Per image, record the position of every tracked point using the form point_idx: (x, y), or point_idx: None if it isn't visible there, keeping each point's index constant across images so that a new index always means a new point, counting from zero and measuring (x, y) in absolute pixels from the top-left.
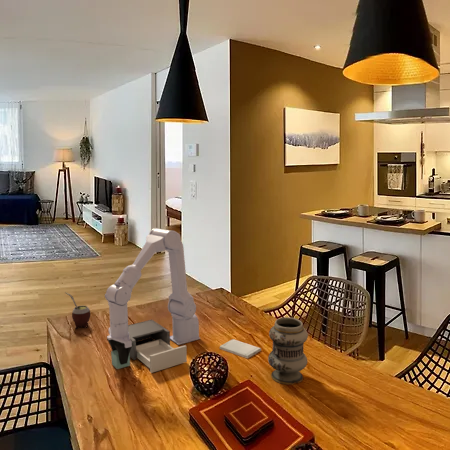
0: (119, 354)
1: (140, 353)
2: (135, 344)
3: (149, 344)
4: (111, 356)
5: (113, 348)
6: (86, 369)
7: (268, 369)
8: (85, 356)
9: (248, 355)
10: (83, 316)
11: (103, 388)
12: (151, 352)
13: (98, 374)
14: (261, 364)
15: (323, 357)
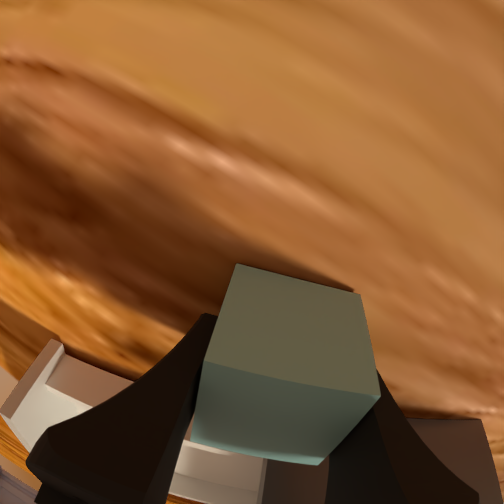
0: (132, 385)
1: (216, 449)
2: (257, 502)
3: None
4: (371, 346)
5: (374, 434)
6: (479, 95)
7: (3, 432)
8: None
9: None
10: None
11: (52, 17)
12: (243, 463)
13: (298, 89)
14: (23, 445)
15: (24, 466)
